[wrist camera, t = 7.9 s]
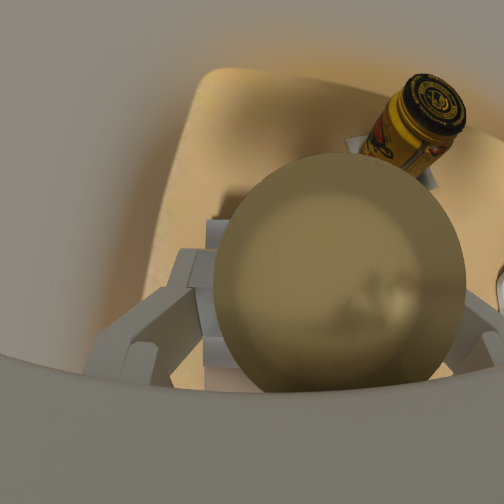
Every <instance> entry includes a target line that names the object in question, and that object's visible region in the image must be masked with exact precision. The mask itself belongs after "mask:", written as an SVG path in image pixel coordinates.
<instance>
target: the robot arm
mask: <svg viewBox="0 0 504 504" xmlns="http://www.w3.org/2000/svg"><path fill="white" fill-rule="evenodd" d="M217 251H218V249H191V248H181V249H180V250H179V252H178V254H177V257H176V260H175V263H174V266H173V269H172V272H171V275H170V278H169V281H168V283H167V286H166V287H160V288H159V289H158V290H156V291H155V292H154V293H152V294H151V295H150V296H148V297H147V298H146V299H144V300H143V301H142V302H140V303H139V304H138V305H136V306H135V307H134V308H132V309H131V310H130V311H129V312H127V313H126V314H124V315H123V316H122V317H121V318H119V319H118V320H117V321H115V322H114V323H113V324H111V325H110V326H109V327H108V328H106V329H105V330H104V331H102V332H101V333H100V334H98V335H97V337H96V340H95V342H94V345H93V347H92V349H91V352H90V354H89V357H88V359H87V362H86V364H85V367H84V369H83V372H82V374H78V373H73V372H68V371H64V370H59V369H55V368H51V367H47V366H43V365H39V364H35V363H31V362H27V361H24V360H20V359H16V358H13V357H9V356H6V355H3V354H0V504H504V272H503V273H502V275H501V276H500V277H499V279H498V281H497V296H498V302H499V308H500V313H499V312H498V311H496V310H495V309H494V308H492V307H491V306H490V305H488V304H487V303H486V302H484V301H483V300H481V299H480V298H479V297H477V296H476V295H474V294H473V293H472V292H470V291H469V290H467V289H466V297H465V306H464V311H463V316H462V320H461V324H460V327H459V330H458V333H457V335H456V338H455V340H454V342H453V344H452V346H451V348H450V350H449V352H448V354H447V356H446V357H445V359H444V360H443V362H444V363H445V364H446V365H447V366H448V367H449V368H450V369H451V370H452V371H453V373H454V374H453V375H452V376H449V377H444V378H438V379H433V380H427V381H421V382H414V383H408V384H400V385H393V386H384V387H375V388H365V389H354V390H341V391H324V392H297V393H249V392H222V391H205V390H191V389H180V388H174V386H173V384H172V381H171V379H170V375H171V374H172V373H173V372H174V370H175V369H176V368H177V367H178V366H179V365H180V364H181V362H182V361H183V360H184V359H185V358H186V357H187V355H188V354H189V353H190V352H191V351H192V350H193V349H194V347H195V346H196V345H197V344H198V343H199V342H200V340H201V339H202V337H223V336H222V333H221V330H220V328H219V324H218V320H217V316H216V311H215V306H214V295H213V278H214V266H215V261H216V255H217Z"/></svg>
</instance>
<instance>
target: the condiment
mask: <svg viewBox="0 0 504 504" xmlns="http://www.w3.org/2000/svg"><path fill="white" fill-rule="evenodd" d="M465 124H466V109H465V106H464V104H463V101H462V100H461V98H460V96H459V95H458V94H457V93H456V91H455V90H454V89H453V88H452V87H451V86H450V85H449V84H447V83H446V82H445V81H443V80H442V79H440V78H438V77H435V76H433V75H430V74H416V75H414V76H413V77H412V78H410V79H409V80H408V81H407V82H406V85H405V86H404V87H403V88H402V90H401V91H399V92H397V93H396V94H394V96H392V98H391V100H390V101H389V102H388V103H387V105H386V107H385V109H384V111H383V113H382V114H381V116H380V117H379V119H378V120H377V121H376V124H375V125H374V127H373V128H372V130H371V132H370V133H369V135H364V136H359V137H354V138H347V139H345V141H346V143H347V146H348V148H349V151H350V153H356V154H362V155H366V156H371V157H375V158H378V159H380V160H383V161H386V162H388V163H390V164H392V165H394V166H396V167H398V168H400V169H402V170H404V171H405V172H407V173H408V174H409V175H411V176H412V177H414V178H415V179H416V180H418V181H419V182H420V183H421V184H422V185H423V186H424V187H425V188H426V189H428V190H432V189H436V188H438V185H437V183H436V181H435V179H434V177H433V175H432V172H431V170H430V168H429V166H430V165H431V164H433V163H434V162H435V161H436V160H437V159H438V158H440V157H441V156H442V155H443V154H444V153H445V152H446V151H448V150H449V148H450V147H451V145H452V144H453V140H454V138H456V136H457V134H458V133H459V132H462V129H463V128H464V126H465Z"/></svg>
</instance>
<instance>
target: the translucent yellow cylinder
mask: <svg viewBox="0 0 504 504" xmlns="http://www.w3.org/2000/svg"><path fill="white" fill-rule="evenodd" d="M213 295H214V306H215V311H216V316H217V320H218V324H219V328H220V330H221V333H222V336H223V338H224V341H225V344H226V346H227V347H228V349H229V351H230V353H231V355H232V356H233V358H234V360H235V361H236V363H237V364H238V366H239V367H240V368H241V370H242V371H243V372H244V374H245V375H246V376H247V377H248V378H249V379H250V380H251V381H252V382H253V383H254V384H255V385H256V386H257V387H258V388H259V389H260V390H262V391H263V392H264V393H297V392H324V391H341V390H354V389H365V388H375V387H384V386H393V385H400V384H408V383H414V382H421V381H427V380H428V379H429V378H430V377H431V376H432V375H433V374H434V372H435V371H436V370H437V369H438V368H439V366H440V365H441V363H442V362H443V360H444V359H445V357H446V356H447V354H448V352H449V350H450V348H451V346H452V344H453V342H454V340H455V338H456V335H457V333H458V330H459V327H460V324H461V320H462V316H463V311H464V306H465V297H466V272H465V264H464V258H463V254H462V250H461V246H460V242H459V240H458V237H457V234H456V232H455V229H454V227H453V225H452V223H451V221H450V219H449V217H448V216H447V214H446V212H445V211H444V209H443V208H442V206H441V205H440V204H439V202H438V201H437V200H436V199H435V197H434V196H433V195H432V194H431V193H430V192H429V191H428V189H426V188H425V187H424V186H423V185H422V184H421V183H420V182H419V181H418V180H416V179H415V178H414V177H412V176H411V175H409V174H408V173H407V172H405V171H404V170H402V169H400V168H398V167H396V166H394V165H392V164H390V163H388V162H386V161H383V160H380V159H378V158H375V157H371V156H366V155H362V154H356V153H345V152H337V153H323V154H318V155H312V156H308V157H305V158H302V159H299V160H296V161H294V162H291V163H289V164H287V165H285V166H283V167H281V168H279V169H278V170H276V171H275V172H273V173H271V174H270V175H268V176H267V177H265V178H264V179H263V180H262V181H261V182H260V183H259V184H257V185H256V186H255V187H254V188H253V189H252V190H251V191H250V192H249V193H248V195H247V196H246V197H245V198H244V199H243V200H242V201H241V203H240V204H239V206H238V207H237V209H236V210H235V212H234V213H233V215H232V216H231V218H230V220H229V222H228V224H227V226H226V228H225V231H224V233H223V235H222V238H221V241H220V244H219V248H218V251H217V255H216V261H215V266H214V278H213Z"/></svg>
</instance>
